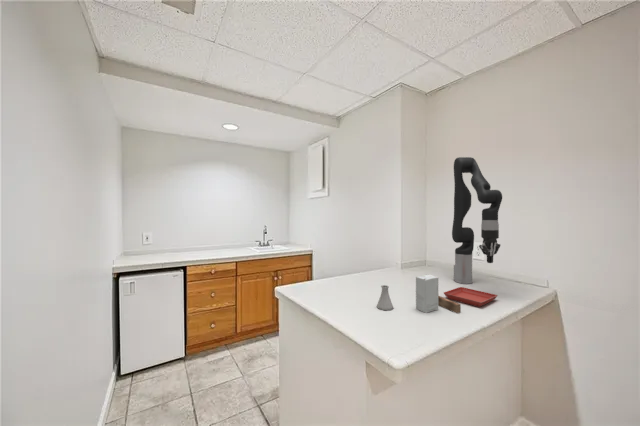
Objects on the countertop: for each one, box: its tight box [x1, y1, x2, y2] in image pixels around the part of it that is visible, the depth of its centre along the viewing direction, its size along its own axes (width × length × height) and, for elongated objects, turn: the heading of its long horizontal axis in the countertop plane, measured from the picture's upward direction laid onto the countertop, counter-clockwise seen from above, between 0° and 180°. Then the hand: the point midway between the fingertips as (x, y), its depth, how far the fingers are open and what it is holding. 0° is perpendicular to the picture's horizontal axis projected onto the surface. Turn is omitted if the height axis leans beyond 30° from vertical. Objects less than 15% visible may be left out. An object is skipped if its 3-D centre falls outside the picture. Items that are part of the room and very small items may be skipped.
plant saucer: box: [443, 286, 498, 308], centre depth 133 cm, size 18×18×3 cm
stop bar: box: [438, 295, 462, 314], centre depth 125 cm, size 20×2×4 cm, turn 22°
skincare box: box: [415, 274, 439, 314], centre depth 120 cm, size 8×6×15 cm
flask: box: [376, 284, 394, 311], centre depth 122 cm, size 7×7×10 cm
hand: (489, 262), depth 137 cm, fingers closed
